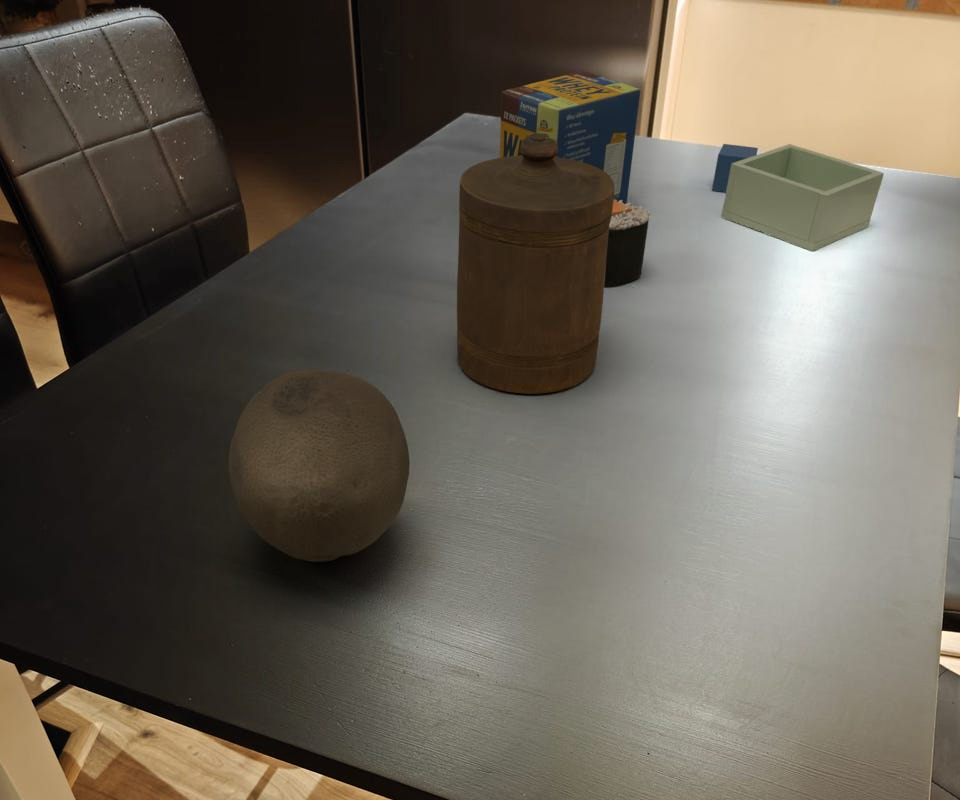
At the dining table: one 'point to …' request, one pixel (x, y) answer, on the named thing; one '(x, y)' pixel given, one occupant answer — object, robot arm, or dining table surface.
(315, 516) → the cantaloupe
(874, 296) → the dining table surface
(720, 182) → the block
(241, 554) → the dining table surface
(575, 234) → the wooden container
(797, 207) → the green storage bin
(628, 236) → the sushi
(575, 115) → the protein box
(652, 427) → the dining table surface
